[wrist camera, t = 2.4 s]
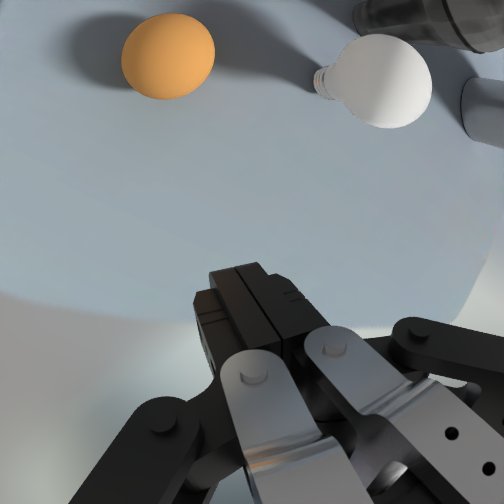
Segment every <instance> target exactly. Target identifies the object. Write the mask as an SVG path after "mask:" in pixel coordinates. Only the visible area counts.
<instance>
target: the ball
mask: <svg viewBox="0 0 504 504" xmlns="http://www.w3.org/2000/svg"><path fill="white" fill-rule="evenodd" d="M214 58H215V47H214V42H213V39H212V37H211V35H210V33H209V31H208V30H207V29H206V28H205V26H204V25H202V24H201V23H200V22H199V21H197V20H196V19H194V18H192V17H190V16H187V15H183V14H177V13H167V14H161V15H157V16H154V17H151V18H149V19H147V20H145V21H144V22H142V23H141V24H139V25H138V26H137V27H136V28H135V29H134V30H133V31H132V32H131V34H130V35H129V37H128V38H127V40H126V42H125V44H124V47H123V50H122V55H121V65H122V70H123V74H124V76H125V78H126V80H127V81H128V83H129V84H130V85H131V86H132V87H133V88H134V89H135V90H136V91H138V92H139V93H141V94H143V95H145V96H147V97H150V98H155V99H174V98H178V97H181V96H184V95H186V94H188V93H190V92H192V91H193V90H195V89H196V88H197V87H199V86H200V85H201V84H202V83H203V82H204V80H205V79H206V78H207V76H208V75H209V73H210V71H211V69H212V67H213V63H214Z"/></svg>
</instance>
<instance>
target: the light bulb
mask: <svg viewBox="0 0 504 504" xmlns="http://www.w3.org/2000/svg"><path fill="white" fill-rule="evenodd" d="M313 84H314V88H315V90H316V91H317V93H318V94H319V95H320V96H321V97H323V98H325V99H328V100H337V101H339V102H343V103H344V105H345V106H346V107H347V109H348V110H349V111H350V112H351V113H352V114H353V115H355V116H356V117H357V118H359V119H360V120H362V121H363V122H365V123H367V124H370V125H373V126H376V127H381V128H398V127H402V126H405V125H408V124H410V123H411V122H413V121H414V120H416V119H417V118H419V117H420V116H421V114H422V113H423V112H424V111H425V109H426V108H427V106H428V104H429V101H430V98H431V92H432V80H431V75H430V72H429V69H428V67H427V65H426V63H425V61H424V59H423V58H422V56H421V55H420V54H419V53H418V52H417V51H416V50H415V49H414V48H413V47H412V46H411V45H409V44H408V43H406V42H404V41H403V40H401V39H399V38H396V37H393V36H389V35H384V34H372V35H366V36H363V37H360V38H358V39H355V40H354V41H352V42H351V43H350V44H349V45H347V46H346V47H345V48H344V50H343V51H342V52H341V54H340V56H339V58H338V60H337V62H336V63H333V64H332V65H330V66H325V67H323V68H321V69H319V70H317V71H316V72H315V74H314V78H313Z"/></svg>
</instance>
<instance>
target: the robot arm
mask: <svg viewBox="0 0 504 504" xmlns="http://www.w3.org/2000/svg"><path fill="white" fill-rule="evenodd" d="M461 109H462V118H463V123H464V126H465V129H466V132H467V133H468V135H469V137H470V138H471V139H473V140H474V141H478V142H481V143H485V144H489V145H492V146H495V147H498V148H502V149H504V81H500V80H494V79H485V78H476V77H472V78H470V79H469V80H468V81H467V82H466V84H465V86H464V89H463V93H462V102H461ZM209 281H210V288H211V289H207V290H203V291H198V292H196V296H195V299H194V302H193V305H194V311H195V316H196V321H197V326H198V331H199V335H200V340H201V343H202V346H203V349H204V352H205V355H206V358H207V360H208V363H209V366H210V369H211V372H212V375H213V377H214V379H213V381H212V383H211V384H210V385H209V387H208V388H207V389H206V390H205V391H203V392H202V393H201V394H199V395H198V396H196V397H194V398H192V399H190V400H188V401H187V402H186V401H185V400H182V399H180V398H176V397H169V396H166V397H158V398H154V399H151V400H149V401H146V402H145V403H143V404H141V405H140V406H139V407H138V408H137V409H136V410H135V411H134V413H133V414H132V415H131V417H130V418H129V419H128V421H127V422H126V424H125V425H124V427H123V428H122V430H121V431H120V432H119V434H118V435H117V436H116V438H115V439H114V440H113V442H112V443H111V445H110V446H109V447H108V449H107V450H106V452H105V453H104V454H103V456H102V457H101V459H100V460H99V461H98V463H97V464H96V466H95V467H94V468H93V470H92V471H91V473H90V474H89V475H88V477H87V478H86V480H85V481H84V482H83V484H82V485H81V487H80V488H79V489H78V491H77V492H76V494H75V495H74V496H73V498H72V499H71V501H70V502H69V503H68V504H209V502H210V500H211V498H212V496H213V494H214V492H215V490H216V488H217V486H218V483H219V481H220V480H222V479H224V478H226V477H227V476H229V475H230V474H232V473H233V472H235V471H236V470H238V469H239V468H241V467H242V469H243V472H244V475H245V478H246V481H247V484H248V487H249V490H250V493H251V496H252V499H253V502H254V504H504V337H500V336H496V335H492V334H487V333H483V332H479V331H474V330H470V329H466V328H462V327H457V326H453V325H449V324H445V323H440V322H436V321H432V320H428V319H424V318H419V317H407V318H403V319H401V320H399V321H398V322H396V324H395V325H394V327H393V330H392V334H391V336H384V337H377V338H368V339H362V338H361V337H360V336H359V335H358V334H356V333H355V332H354V331H352V330H350V329H348V328H345V327H341V326H331V325H330V324H329V323H328V322H327V321H326V320H325V319H324V317H323V316H322V315H321V314H320V313H319V312H318V311H317V310H316V309H315V307H314V306H313V305H312V304H311V303H310V302H309V301H308V300H307V299H305V296H304V295H303V294H302V293H301V292H300V291H298V289H297V287H296V286H295V285H294V284H293V283H292V282H291V281H290V280H289V279H287V278H285V277H283V276H281V275H279V274H277V273H276V274H272V275H268V274H267V273H266V272H265V271H264V269H263V268H262V267H261V266H260V264H259V263H258V262H254V263H249V264H245V265H240V266H235V267H231V268H227V269H222V270H217V271H213V272H209ZM430 373H431V374H435V375H440V376H444V377H449V378H452V379H457V380H461V381H466V382H468V383H467V384H466V385H465V386H463V387H459V388H454V387H449V386H445V385H443V384H441V383H440V382H438V381H437V380H434V379H431V378H428V376H429V374H430ZM407 467H408V469H407Z"/></svg>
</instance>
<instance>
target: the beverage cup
mask: <svg viewBox="0 0 504 504" xmlns="http://www.w3.org/2000/svg"><path fill="white" fill-rule="evenodd" d="M353 21H354V25H355V27H356V29H357V31H358V33H359V34H360V35H361V36H362V37H363V36H366V35H372V34H384V35H389V36H393V37H396V38H399V39H401V40H403V41H404V42H406V43H408V44H425V45H442V46H452V47H454V48H458V49H463V50H468V51H472V52H473V53H478V54H483V53H485V52H493V51H497V50H500V49H502V48H504V0H366V1H365V2H363V3H361V4H358V5H357V6H356V7H355V9H354V11H353Z"/></svg>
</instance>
